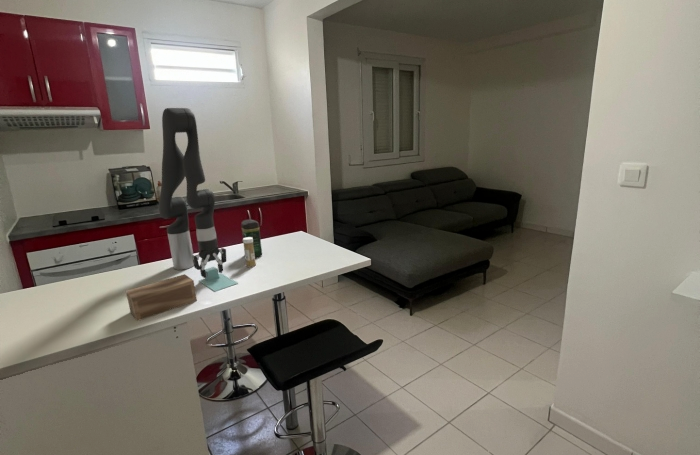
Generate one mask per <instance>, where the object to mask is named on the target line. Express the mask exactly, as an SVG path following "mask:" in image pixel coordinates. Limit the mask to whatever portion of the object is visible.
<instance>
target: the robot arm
mask: <svg viewBox="0 0 700 455" xmlns="http://www.w3.org/2000/svg"><path fill="white" fill-rule="evenodd" d="M161 120H162V121H161V124H162V126H161V127H162V162H161V186H160V187H161V188H160V192H159V193H160V194H159V199H158V200H159V201H158V213H159V216H160V217H161V218H162V219H165V220H171V219H176V220H175V221H174V222H172V223H171V224H169V225H168V226H167V227H166V233H167V239H168V243H169V249H170V250H169V251H170V254H171V261H172V266H173V269H174V270H178V271H179V270H187V269H190V268H193V267H194V269H195V270H197V271H199V270H200V276H201V277H202V279H205V278H206V272H205V269H206V266H207V265H208V263H210V262H211V261H215V262H216V263H217V269H218V274H223V271H224V266H223V265H224V263H226V262H227V249H226V248H224V247H221V248H219V244H218V238H217V231H216V228H215V222H214V221H215V220H214V213H215V212H214V210H215V203H216V196H215V194H214V193H213V191H212V190H211V189H209V188H206V189H199V190H198V186H199V185H202V184H204V183H205V182H206V176H205V173H204V169H203V168H204V167H203V165H202V164H203V163H202V161H201V155H200V153H201V152H200V145H199V144H200V143H199V134H198V127H197V126H198V125H197V120H196V117H195V114H194V112H193V111H192V109H190V108H186V107H168V108H167V107H166V108H164V110H163V111H162V116H161ZM177 133H178V134H179V133H181V134H182V133H186V138H187V145H186V149H185V151H184V153H183V152H182V151H181V149H180V148H179V146H178V145H177V141H176V134H177ZM184 179H186V197H185V198H186V200H185V198H184V197H183V196H173V195H174V193H175V191H176V190H177V189H178V187H179V186H180V185H182V183H183V181H184ZM188 206H189V207H190V209H194V210H198V209H202V208H203V209H202V211H201V212H199V213H197V214H195V215H194V222H195V223H194V224H195V230H196V232H195V233H196V234H195V235H196V240H197V247H198V254H194V251H193V244H192V239H191V233H190V226H189V225H190V222H189V221H190V220H189V214H188ZM219 254H220V255H221V256H220V257H219ZM199 259H201V260H200V264H199Z"/></svg>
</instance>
